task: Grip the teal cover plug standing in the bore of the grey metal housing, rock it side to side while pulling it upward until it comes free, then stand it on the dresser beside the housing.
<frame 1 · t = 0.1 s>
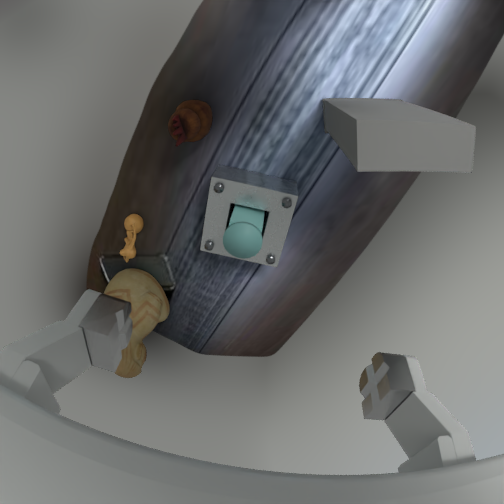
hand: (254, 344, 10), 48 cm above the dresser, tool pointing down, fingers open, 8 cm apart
wooden figurine: (199, 116, 51), on the dresser
ceramic vessel: (141, 288, 73), on the dresser
cover plug: (246, 222, 54), in the housing
cassette tape recorder: (362, 115, 49), on the dresser
housing: (250, 207, 60), on the dresser
figurine: (142, 221, 63), on the dresser
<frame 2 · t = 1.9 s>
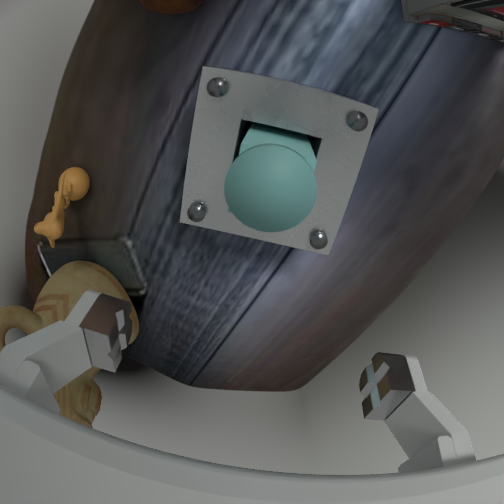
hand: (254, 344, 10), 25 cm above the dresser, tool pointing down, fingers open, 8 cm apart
ceramic vessel: (97, 291, 45), on the dresser
cover plug: (272, 163, 26), in the housing
cassette tape recorder: (455, 8, 20), on the dresser
housing: (274, 146, 31), on the dresser
figurine: (89, 180, 35), on the dresser
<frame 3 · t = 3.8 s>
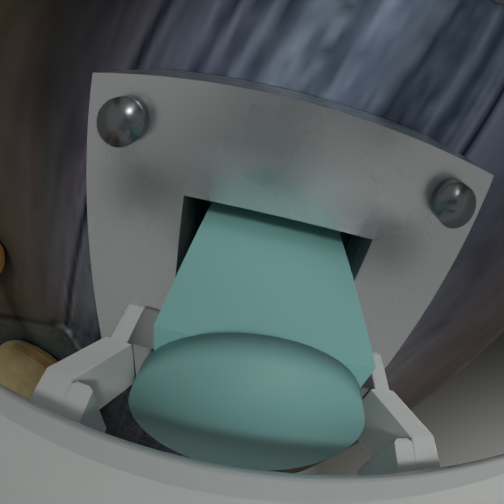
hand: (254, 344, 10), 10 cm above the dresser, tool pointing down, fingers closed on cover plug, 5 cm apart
ceramic vessel: (48, 372, 31), on the dresser
cover plug: (260, 283, 13), in the housing, touching gripper
housing: (267, 214, 18), on the dresser
figurine: (7, 249, 22), on the dresser
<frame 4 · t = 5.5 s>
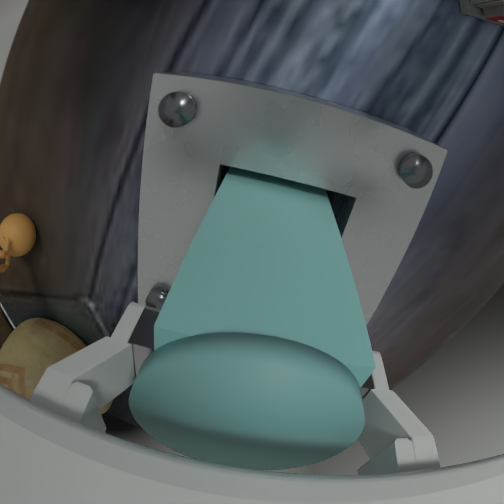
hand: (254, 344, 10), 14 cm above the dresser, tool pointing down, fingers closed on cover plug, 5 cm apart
ceramic vessel: (65, 349, 35), on the dresser
cover plug: (260, 283, 13), point 11 cm above the dresser, touching gripper
housing: (275, 191, 22), on the dresser
figurine: (37, 228, 25), on the dresser
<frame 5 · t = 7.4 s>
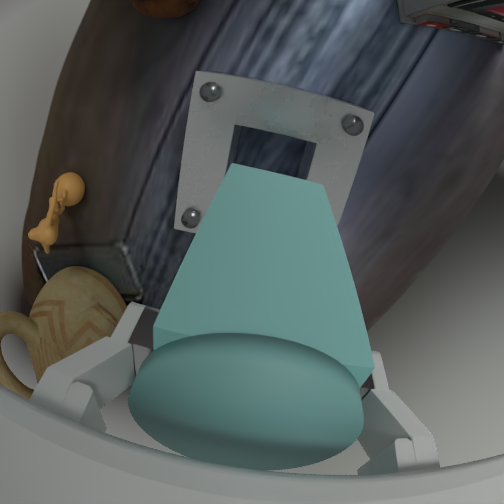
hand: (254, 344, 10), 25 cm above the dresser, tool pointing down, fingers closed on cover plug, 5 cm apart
ceramic vessel: (94, 297, 44), on the dresser
cover plug: (260, 283, 13), point 22 cm above the dresser, touching gripper
cassette tape recorder: (453, 9, 20), on the dresser
housing: (269, 151, 31), on the dresser
figurine: (85, 185, 35), on the dresser
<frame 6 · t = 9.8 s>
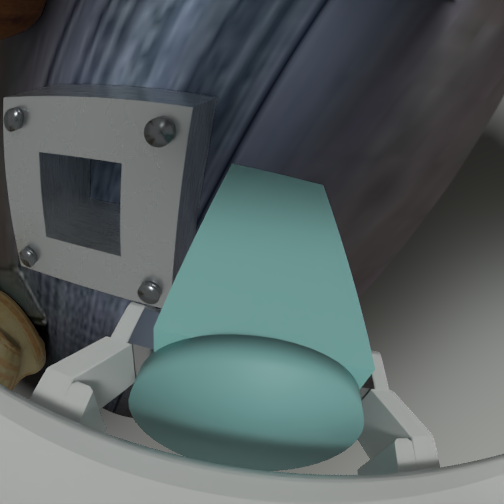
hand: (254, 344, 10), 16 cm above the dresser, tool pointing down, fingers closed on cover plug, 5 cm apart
wooden figurine: (33, 5, 16), on the dresser
ceramic vessel: (12, 317, 38), on the dresser
cover plug: (260, 284, 13), point 13 cm above the dresser, touching gripper
housing: (122, 169, 24), on the dresser
when the fingers open (11 cm above the dresser, at t = 11.4 s): cover plug moves 2 cm, on the dresser.
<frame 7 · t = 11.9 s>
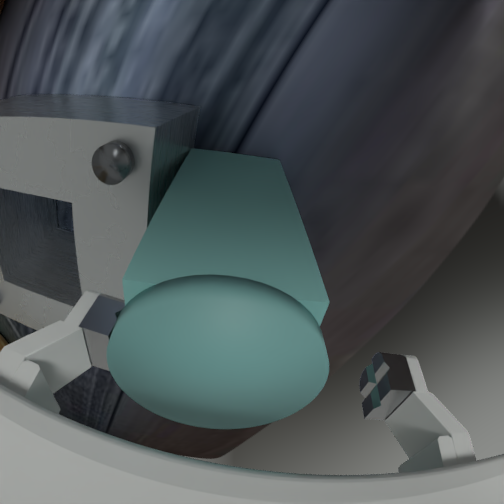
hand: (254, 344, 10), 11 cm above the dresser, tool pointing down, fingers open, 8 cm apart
cover plug: (224, 252, 13), on the dresser, tilted 7°, touching gripper
housing: (90, 196, 20), on the dresser
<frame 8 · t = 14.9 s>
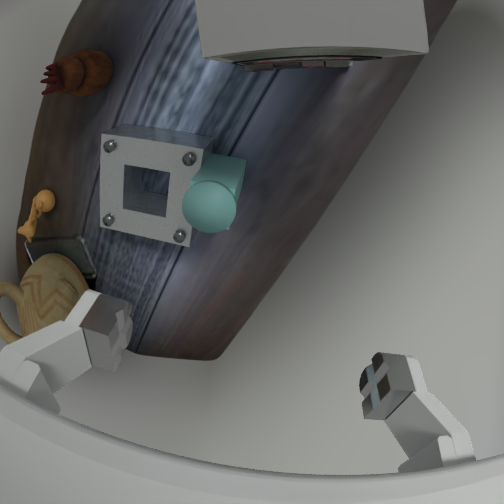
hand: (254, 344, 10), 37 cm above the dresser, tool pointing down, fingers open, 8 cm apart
wooden figurine: (102, 70, 38), on the dresser
ceramic vessel: (65, 276, 59), on the dresser
cover plug: (218, 188, 40), on the dresser
cassette tape recorder: (296, 47, 35), on the dresser
housing: (162, 174, 46), on the dresser
figurine: (55, 198, 50), on the dresser
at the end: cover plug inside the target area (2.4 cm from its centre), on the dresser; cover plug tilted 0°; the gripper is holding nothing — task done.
